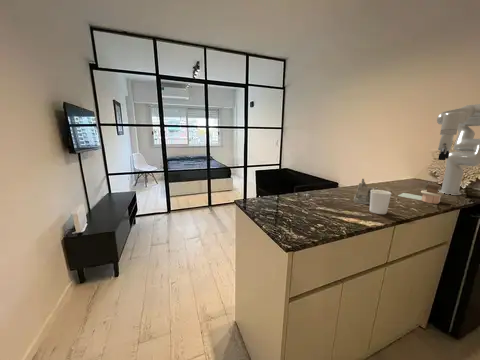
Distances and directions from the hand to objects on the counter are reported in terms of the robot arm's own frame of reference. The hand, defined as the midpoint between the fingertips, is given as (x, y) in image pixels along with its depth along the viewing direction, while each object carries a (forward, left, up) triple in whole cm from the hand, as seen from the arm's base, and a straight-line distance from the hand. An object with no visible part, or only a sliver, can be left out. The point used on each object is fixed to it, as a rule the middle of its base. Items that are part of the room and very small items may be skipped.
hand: (443, 159), depth 135 cm
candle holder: (+56, -15, -28) cm, 65 cm away
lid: (+10, -1, -22) cm, 24 cm away
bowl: (+10, -1, -28) cm, 30 cm away
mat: (+5, -12, -28) cm, 31 cm away
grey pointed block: (+40, -27, -28) cm, 56 cm away
